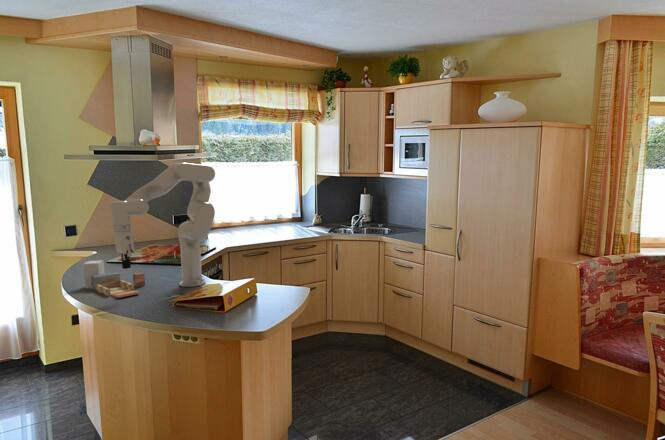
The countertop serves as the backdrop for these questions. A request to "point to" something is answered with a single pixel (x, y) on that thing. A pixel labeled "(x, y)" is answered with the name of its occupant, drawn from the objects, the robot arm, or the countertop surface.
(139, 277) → the block
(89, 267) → the supplement box
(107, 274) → the truck bed
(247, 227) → the countertop surface
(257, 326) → the countertop surface
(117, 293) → the panel
